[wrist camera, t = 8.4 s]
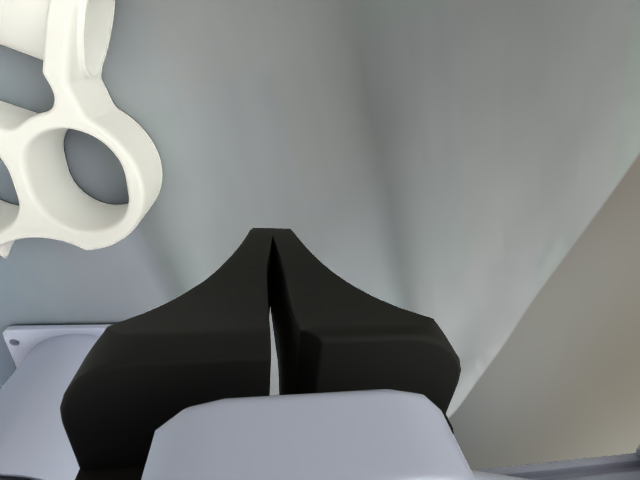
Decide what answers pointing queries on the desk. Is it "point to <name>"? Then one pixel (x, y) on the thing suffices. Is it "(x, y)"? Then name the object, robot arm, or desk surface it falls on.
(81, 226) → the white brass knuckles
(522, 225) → the desk surface
